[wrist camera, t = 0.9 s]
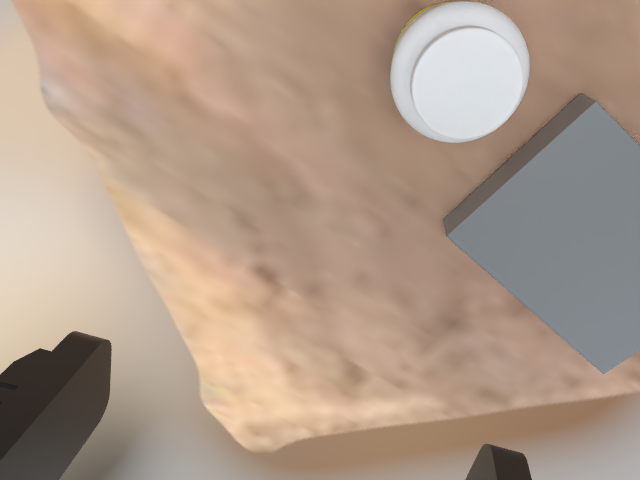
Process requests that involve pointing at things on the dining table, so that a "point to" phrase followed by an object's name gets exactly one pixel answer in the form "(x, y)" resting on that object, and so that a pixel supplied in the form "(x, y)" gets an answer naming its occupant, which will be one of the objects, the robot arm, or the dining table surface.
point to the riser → (565, 231)
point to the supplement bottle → (459, 70)
